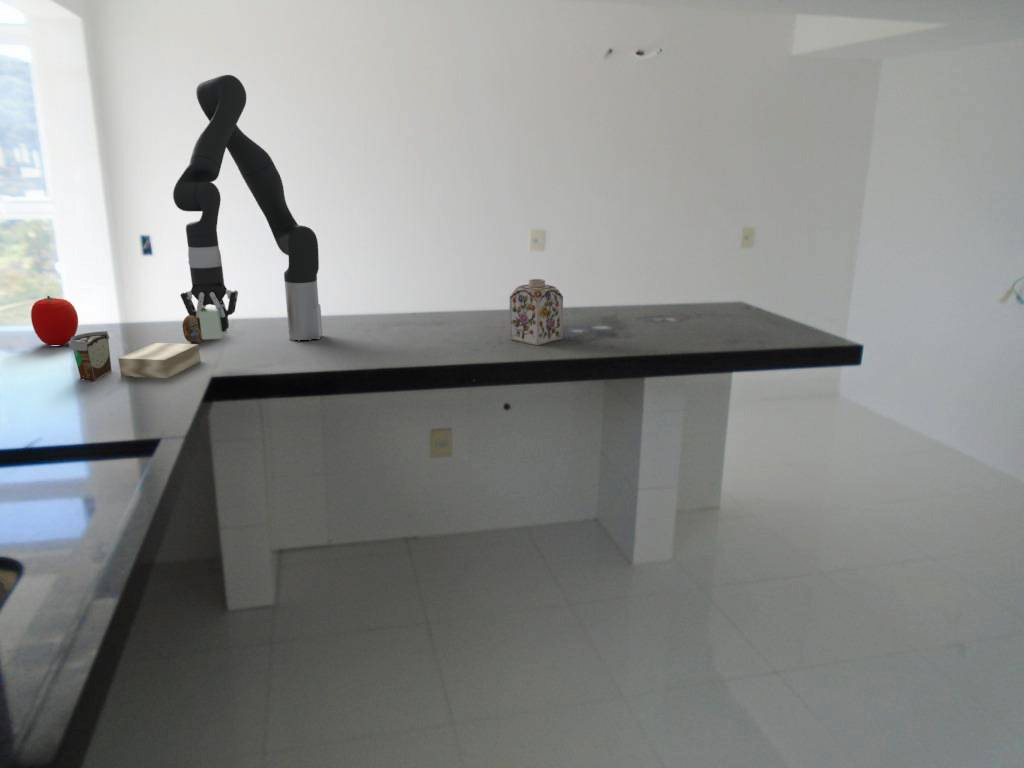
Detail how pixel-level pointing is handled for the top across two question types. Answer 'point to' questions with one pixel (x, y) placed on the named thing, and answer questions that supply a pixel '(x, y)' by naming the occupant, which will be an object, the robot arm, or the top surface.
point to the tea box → (211, 323)
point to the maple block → (159, 360)
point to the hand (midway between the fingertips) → (214, 330)
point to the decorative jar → (536, 313)
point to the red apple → (54, 320)
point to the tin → (192, 330)
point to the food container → (92, 354)
